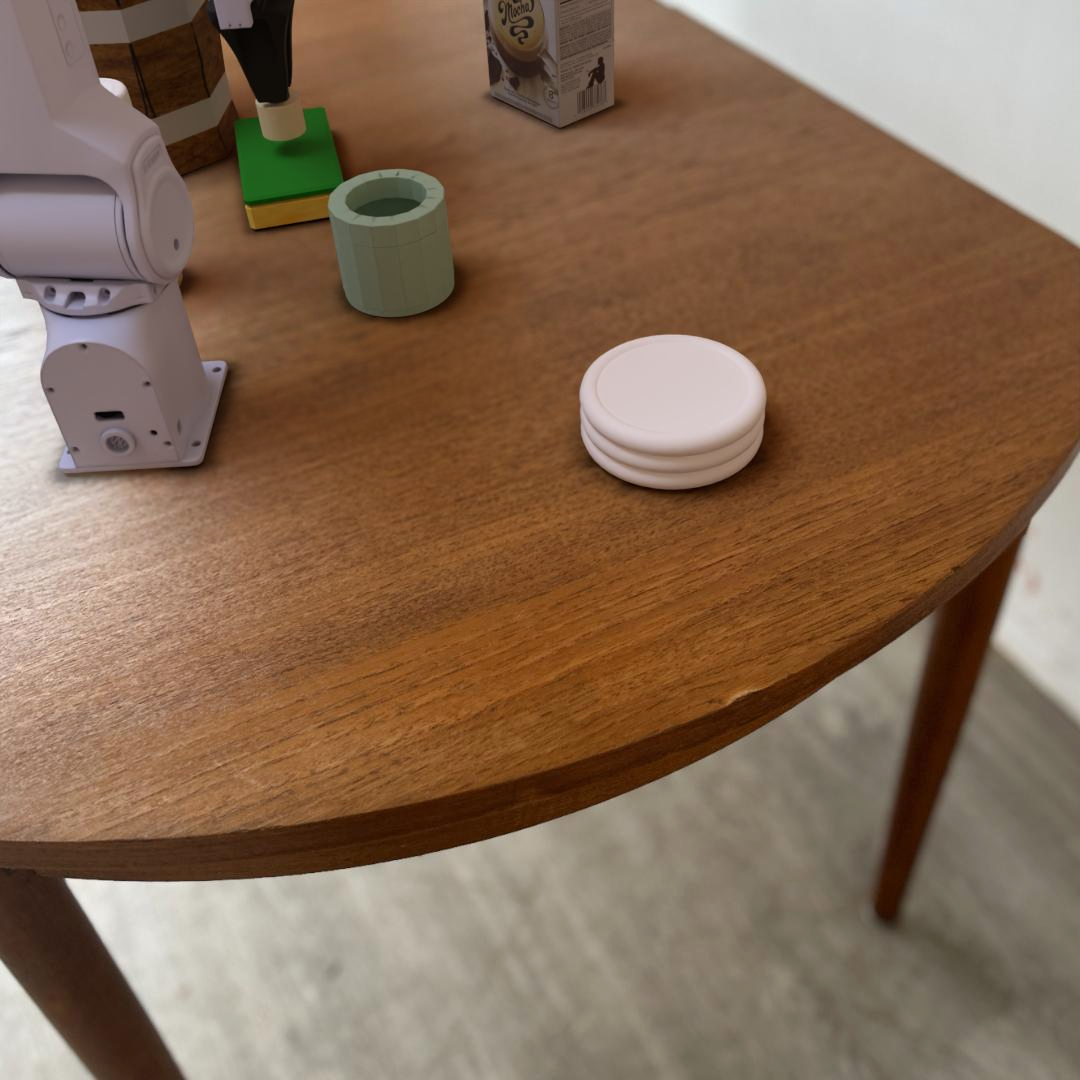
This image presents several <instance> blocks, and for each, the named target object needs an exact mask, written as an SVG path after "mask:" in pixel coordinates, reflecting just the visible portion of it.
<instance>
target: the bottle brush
mask: <svg viewBox="0 0 1080 1080" xmlns="http://www.w3.org/2000/svg"><path fill="white" fill-rule="evenodd" d="M254 102H255V107H256V112H257V116H259V121H260V125H261V130H262V134H263V136H264V137H265V138H266V139H268V140H271V141H287V140H291V139H295V138H297V137H299V136H301V135H302V134H304V133H305V131H306V125H305V120H304V115H303V110H302V109H303V106H302V100H301V96H300V93H299V92H298V91H296V90H293V89H289V88H288V96H287V100H286V101H282V102H267V103H259V102H258V101H257V99H256V98H255V101H254Z"/></svg>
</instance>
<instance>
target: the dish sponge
mask: <svg viewBox="0 0 1080 1080" xmlns="http://www.w3.org/2000/svg"><path fill="white" fill-rule="evenodd" d="M302 110H303V115H304V120H305V125H306V131H305V133H304V134H302V135H301V136H299V137H297V138H295V139H291V140H287V141H271V140H268V139H266V138H265V137H264V136H263V134H262V130H261V125H260V121H259V116H258V115H257V116H251V117H244V118H240V119H238V120H236V121H235V122H234V127H235V135H236V141H235V143H236V151H237V158H238V159H237V160H238V168H239V173H240V174H239V175H240V183H241V190H242V199H243V203H244V207H245V211H246V215H247V219H248V223H249V228H250V229H252V230H259V229H265V228H272V227H278V226H283V225H289V224H294V223H295V224H296V223H301V222H308V221H313V220H320V219H326V218H330V216H329V211H328V202H329V197H330V194H331V193H332V192H333V191H334V190H335V189H336V188H337V187H338V186H339V185H340V184H342V183H344V182H345V180H344V177H343V173H342V169H341V166H340V161H339V158H338V154H337V150H336V146H335V143H334V139H333V138H334V137H333V133H332V131H331V127H330V123H329V119H328V116H327V112H326V108H325V107H322V106H317V107H310V108H304V109H303V108H302Z"/></svg>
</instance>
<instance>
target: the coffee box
mask: <svg viewBox="0 0 1080 1080" xmlns="http://www.w3.org/2000/svg"><path fill="white" fill-rule="evenodd" d="M482 6H483V18H484V35H485V44H486V56H487V68H488V81H489V93H490V96H491V97H493V98H496V99H498V100H500V101H502V102H504V103H506V104H508V105H511V106H513V107H514V108H516V109H519V110H521V111H523V112H525V113H527V114H529V115H531V116H533V117H536V118H537V119H540V120H542V121H544V122H545V123H548V124H550V125H552V126H554V127H556V128H563V127H566V126H568V125H571V124H573V123H575V122H577V121H580V120H582V119H585V118H586V117H590V116H591V115H593V114H596V113H598V112H601V111H603V110H606V109H608V108H610V107H612V106H614V105H615V0H482Z"/></svg>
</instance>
